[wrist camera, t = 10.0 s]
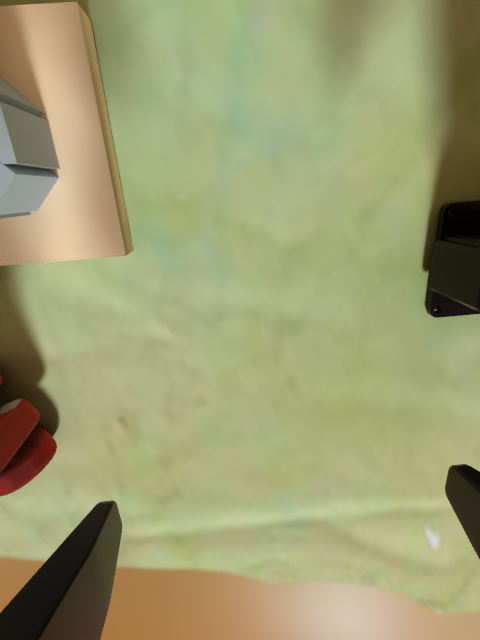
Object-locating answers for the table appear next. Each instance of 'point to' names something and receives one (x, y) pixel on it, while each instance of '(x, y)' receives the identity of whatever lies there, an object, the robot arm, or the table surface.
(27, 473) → the toy fire truck
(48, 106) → the pegboard
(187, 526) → the table surface
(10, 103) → the ring
